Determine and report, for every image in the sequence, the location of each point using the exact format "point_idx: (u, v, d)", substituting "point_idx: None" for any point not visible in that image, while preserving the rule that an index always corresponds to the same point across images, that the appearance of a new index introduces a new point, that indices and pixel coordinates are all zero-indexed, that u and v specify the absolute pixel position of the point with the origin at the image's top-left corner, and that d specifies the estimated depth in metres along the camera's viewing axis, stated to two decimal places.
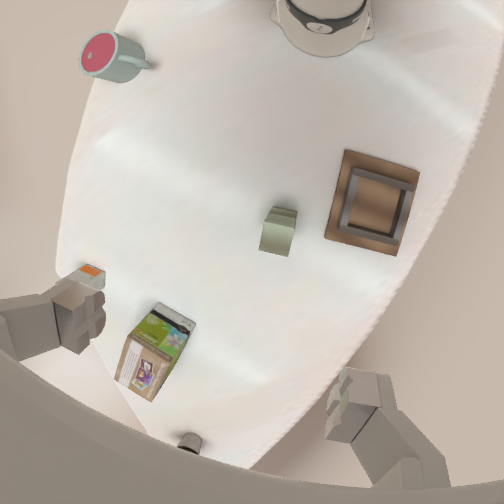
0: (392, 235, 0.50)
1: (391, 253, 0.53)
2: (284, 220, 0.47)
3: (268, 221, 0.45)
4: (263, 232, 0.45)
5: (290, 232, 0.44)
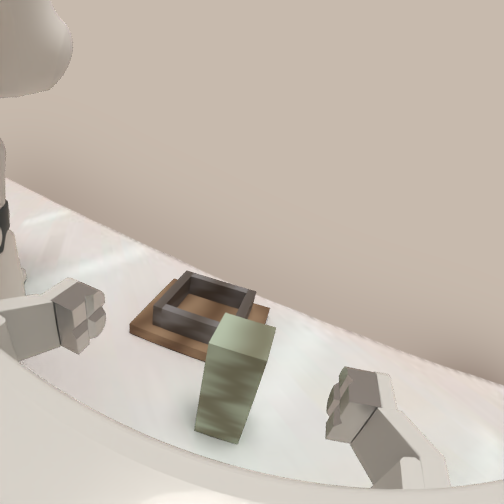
0: (243, 297, 0.45)
1: (266, 311, 0.47)
2: None
3: None
4: (230, 348, 0.22)
5: (232, 318, 0.25)
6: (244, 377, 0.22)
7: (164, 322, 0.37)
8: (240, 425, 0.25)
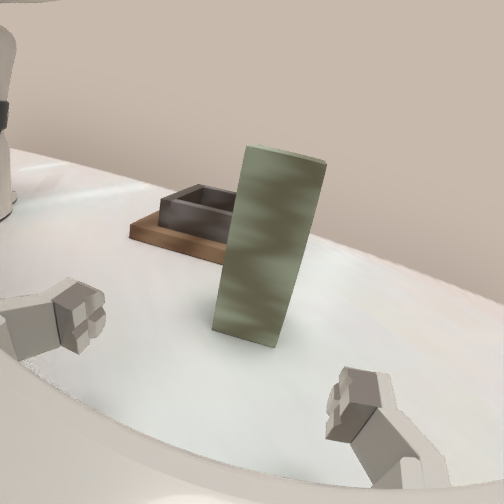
0: None
1: None
2: None
3: None
4: (276, 151, 0.16)
5: (270, 147, 0.20)
6: (295, 200, 0.17)
7: (173, 220, 0.31)
8: (283, 304, 0.19)
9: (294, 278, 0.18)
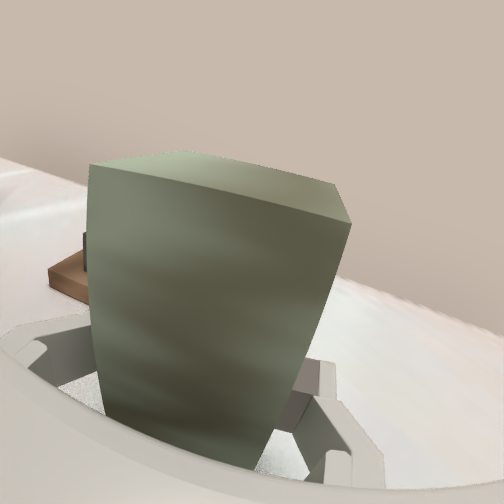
0: None
1: None
2: None
3: None
4: (174, 177, 0.05)
5: (205, 156, 0.08)
6: (240, 332, 0.05)
7: None
8: None
9: (250, 467, 0.07)
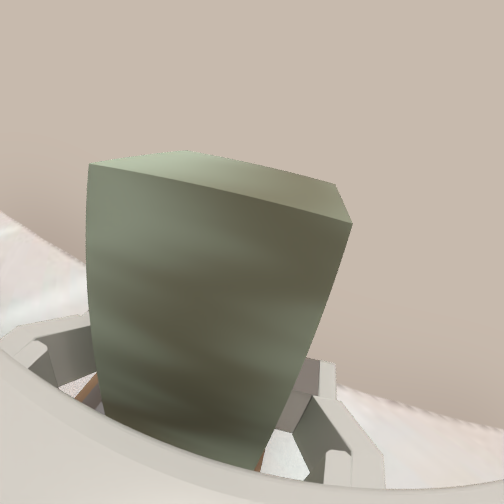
0: None
1: None
2: None
3: None
4: (174, 177, 0.05)
5: (204, 155, 0.08)
6: (240, 332, 0.05)
7: None
8: None
9: (250, 468, 0.07)
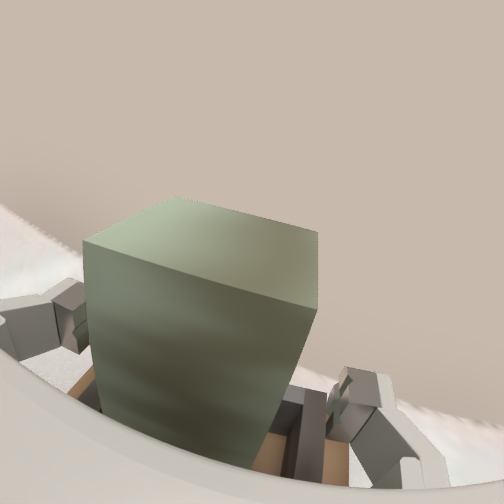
0: (292, 413, 0.14)
1: None
2: None
3: None
4: (160, 259, 0.05)
5: (193, 205, 0.09)
6: (222, 387, 0.06)
7: None
8: None
9: None
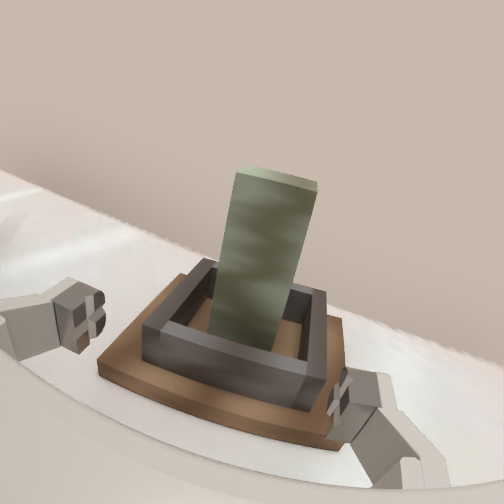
0: (305, 302, 0.25)
1: (338, 323, 0.27)
2: None
3: None
4: (266, 178, 0.16)
5: (262, 169, 0.20)
6: (285, 227, 0.17)
7: (166, 358, 0.18)
8: (274, 326, 0.19)
9: (284, 302, 0.18)
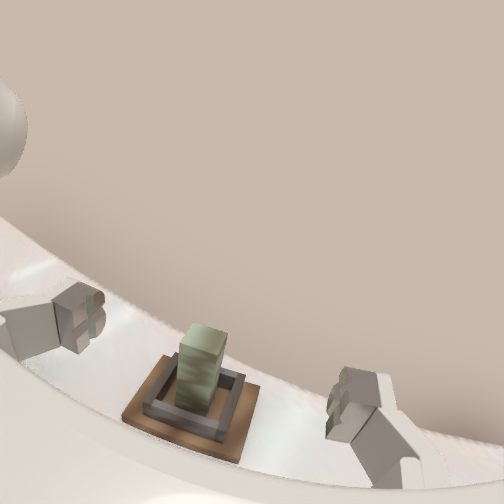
0: (232, 381, 0.42)
1: (256, 390, 0.44)
2: None
3: None
4: (194, 346, 0.33)
5: (198, 326, 0.36)
6: (204, 366, 0.33)
7: (154, 415, 0.34)
8: (206, 402, 0.36)
9: (209, 393, 0.35)
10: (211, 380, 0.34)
